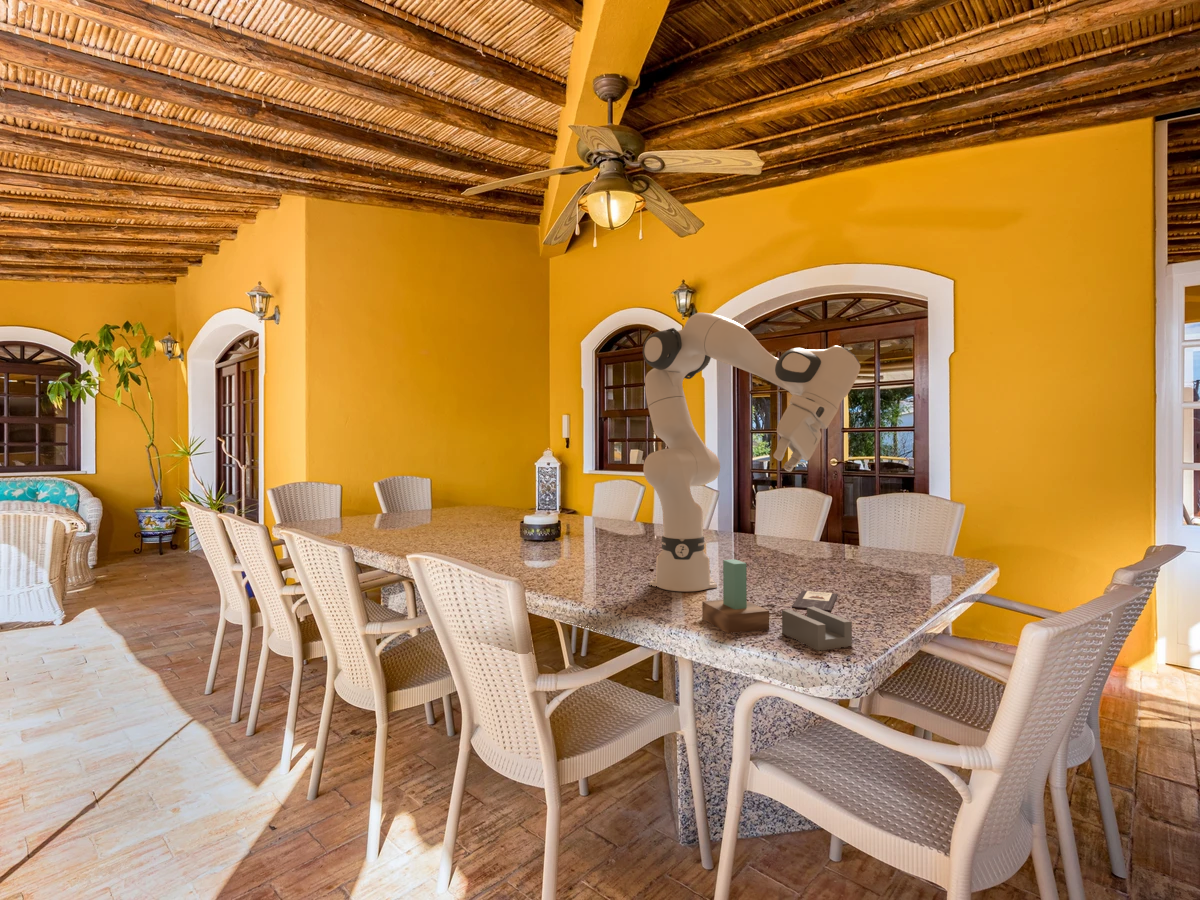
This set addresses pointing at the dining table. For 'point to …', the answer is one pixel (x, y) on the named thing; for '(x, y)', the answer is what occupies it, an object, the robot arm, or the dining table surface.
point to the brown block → (735, 617)
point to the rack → (817, 628)
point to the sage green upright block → (734, 584)
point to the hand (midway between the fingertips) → (781, 464)
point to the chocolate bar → (815, 600)
